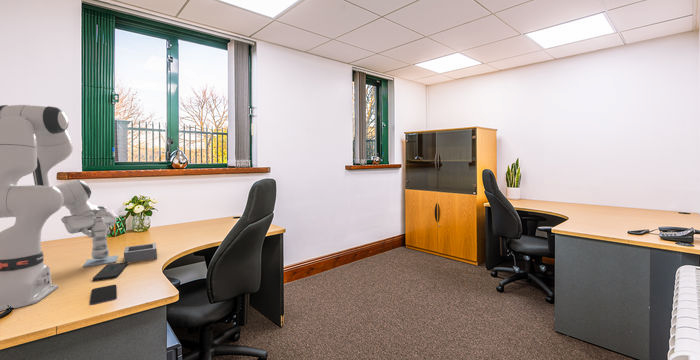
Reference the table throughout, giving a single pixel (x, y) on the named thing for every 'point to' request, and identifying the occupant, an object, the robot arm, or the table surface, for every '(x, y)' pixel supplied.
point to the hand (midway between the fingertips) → (100, 234)
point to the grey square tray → (140, 253)
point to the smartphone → (103, 294)
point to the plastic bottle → (99, 239)
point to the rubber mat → (100, 261)
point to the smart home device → (110, 271)
